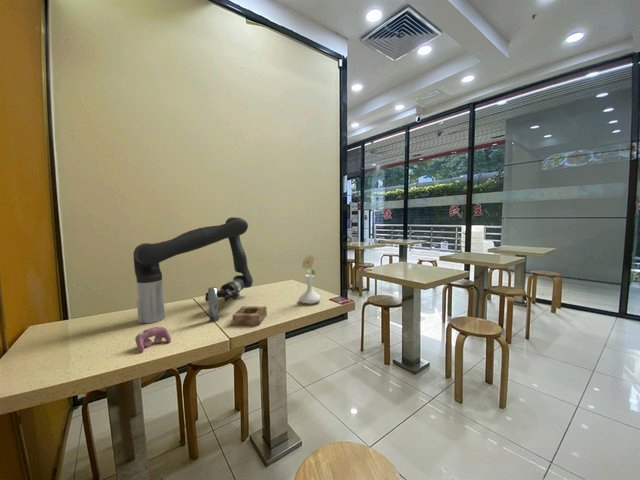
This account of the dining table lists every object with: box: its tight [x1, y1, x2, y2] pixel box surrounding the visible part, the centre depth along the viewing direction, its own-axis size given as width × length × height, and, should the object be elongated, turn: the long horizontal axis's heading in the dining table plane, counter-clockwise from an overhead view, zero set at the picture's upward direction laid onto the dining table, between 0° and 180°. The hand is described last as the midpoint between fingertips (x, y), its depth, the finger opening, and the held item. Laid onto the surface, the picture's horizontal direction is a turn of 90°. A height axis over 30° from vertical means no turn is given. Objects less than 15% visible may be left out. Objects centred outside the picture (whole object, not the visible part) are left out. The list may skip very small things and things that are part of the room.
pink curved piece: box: [135, 326, 172, 353], centre depth 90 cm, size 10×5×7 cm, turn 141°
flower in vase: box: [298, 254, 322, 305], centre depth 132 cm, size 13×11×25 cm
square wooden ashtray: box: [232, 305, 268, 326], centre depth 111 cm, size 11×11×4 cm
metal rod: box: [207, 286, 219, 323], centre depth 111 cm, size 4×4×14 cm
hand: (215, 299), depth 113 cm, fingers open, 8 cm apart
